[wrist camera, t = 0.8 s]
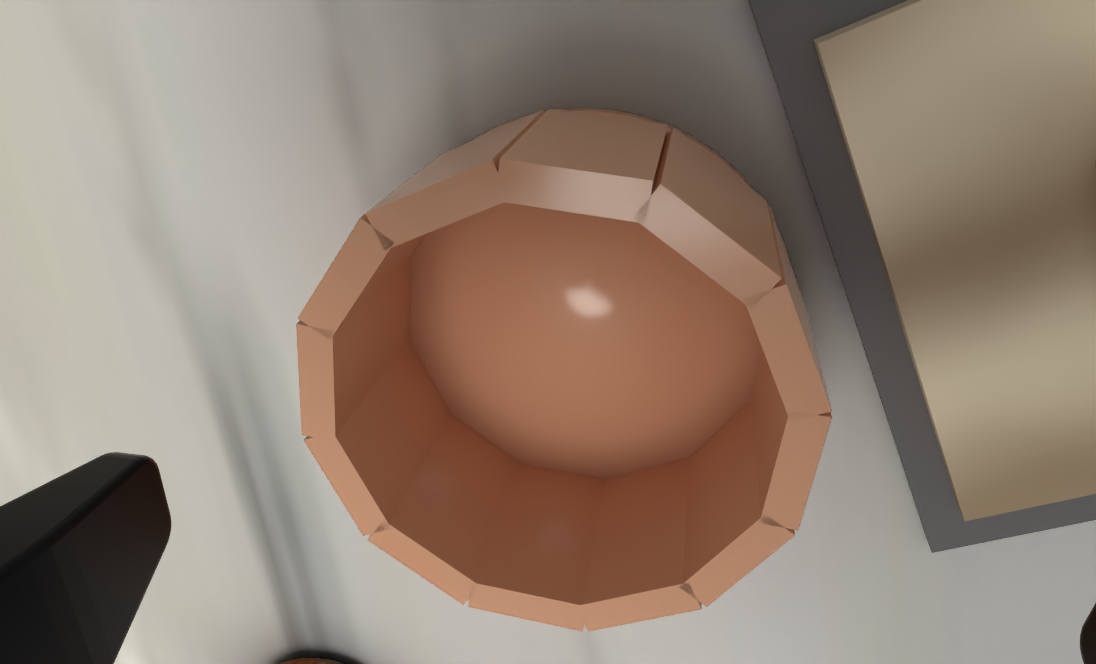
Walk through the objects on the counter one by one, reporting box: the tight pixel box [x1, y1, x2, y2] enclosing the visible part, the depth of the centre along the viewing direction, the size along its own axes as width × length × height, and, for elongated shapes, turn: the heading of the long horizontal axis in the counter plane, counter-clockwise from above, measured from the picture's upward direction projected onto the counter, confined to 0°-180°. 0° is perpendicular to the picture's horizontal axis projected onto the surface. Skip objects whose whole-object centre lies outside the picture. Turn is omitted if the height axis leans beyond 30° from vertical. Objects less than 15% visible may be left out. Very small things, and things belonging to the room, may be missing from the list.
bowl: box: [296, 108, 832, 631], centre depth 20 cm, size 11×11×6 cm
